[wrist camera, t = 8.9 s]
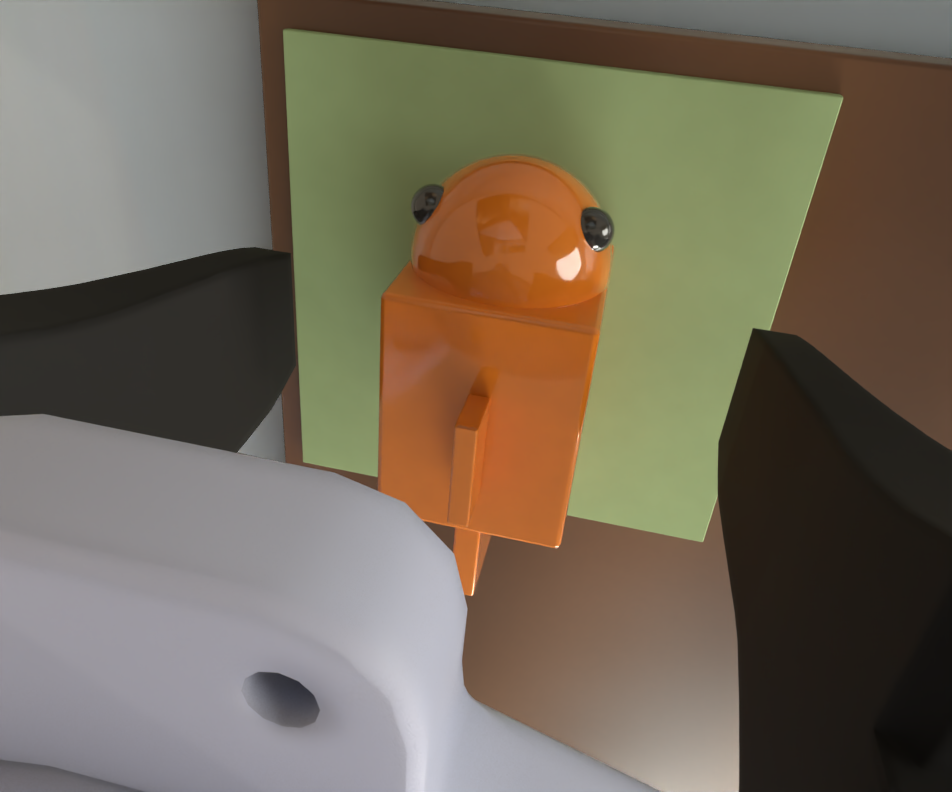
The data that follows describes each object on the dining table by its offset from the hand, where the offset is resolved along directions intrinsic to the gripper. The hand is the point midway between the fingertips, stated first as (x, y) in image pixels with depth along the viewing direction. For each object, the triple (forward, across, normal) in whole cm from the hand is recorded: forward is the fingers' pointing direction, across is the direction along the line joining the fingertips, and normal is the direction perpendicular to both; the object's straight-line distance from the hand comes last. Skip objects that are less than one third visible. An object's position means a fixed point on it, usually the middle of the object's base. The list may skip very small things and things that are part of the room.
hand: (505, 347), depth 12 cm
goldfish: (+1, 0, 0) cm, 1 cm away
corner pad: (+1, 0, 0) cm, 1 cm away
